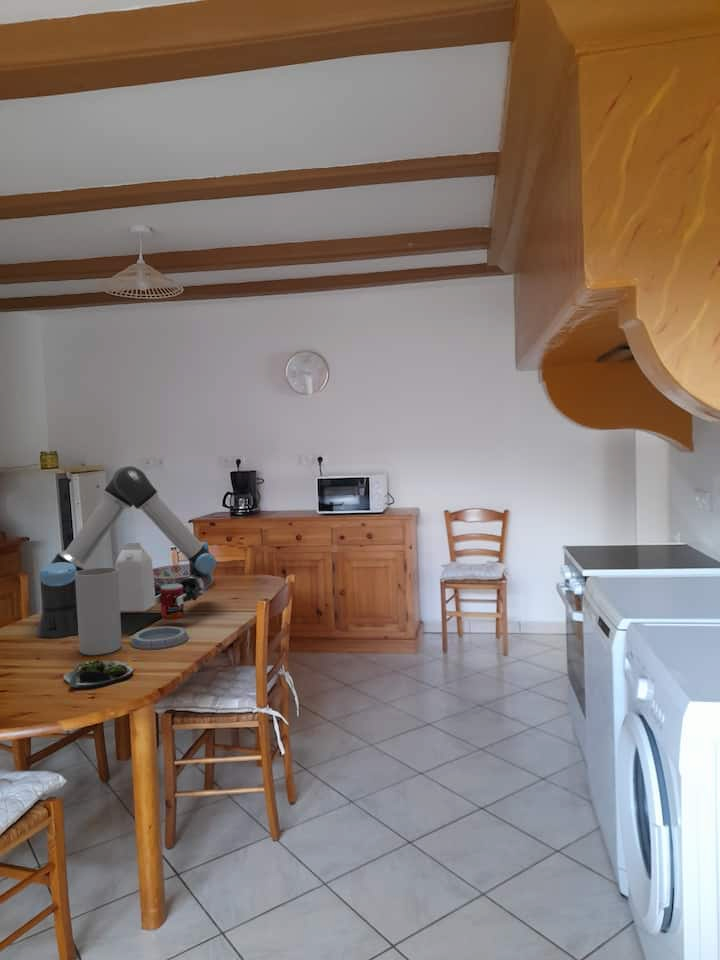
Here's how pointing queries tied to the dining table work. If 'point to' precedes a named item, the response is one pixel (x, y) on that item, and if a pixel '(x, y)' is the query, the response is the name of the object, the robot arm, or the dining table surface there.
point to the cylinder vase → (98, 611)
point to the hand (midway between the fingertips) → (166, 601)
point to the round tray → (159, 638)
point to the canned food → (171, 601)
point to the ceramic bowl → (170, 574)
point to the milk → (135, 578)
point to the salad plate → (97, 674)
